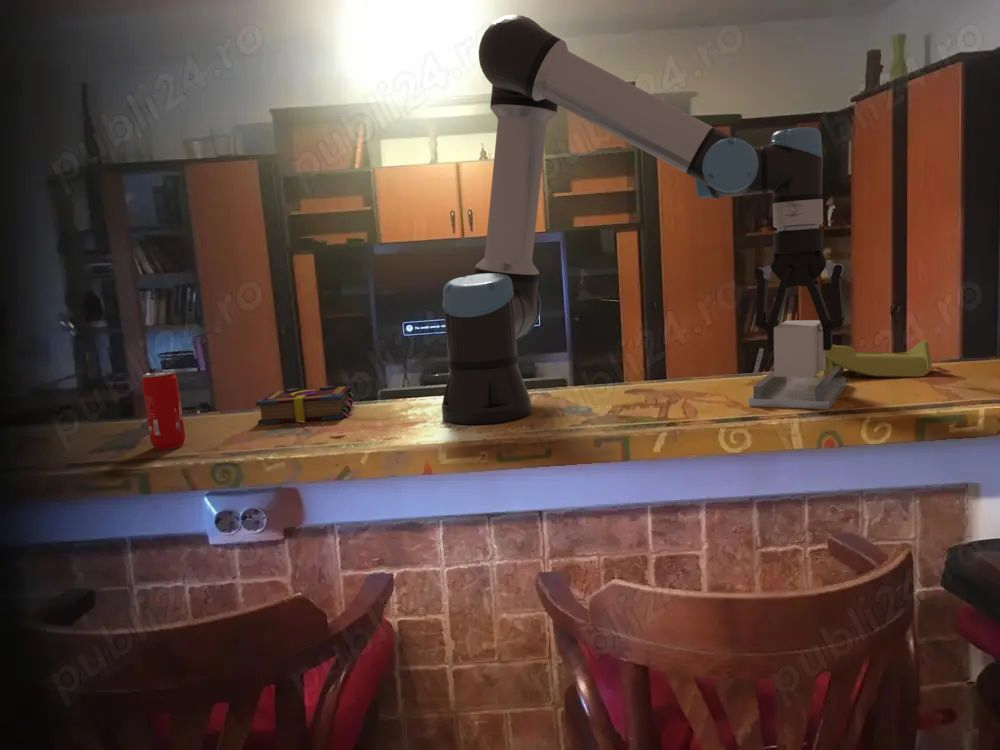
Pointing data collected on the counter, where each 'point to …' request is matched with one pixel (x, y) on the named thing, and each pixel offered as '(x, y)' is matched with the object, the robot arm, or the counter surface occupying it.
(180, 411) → the beverage can
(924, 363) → the plastic component
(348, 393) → the decorative book
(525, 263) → the robot arm
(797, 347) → the block
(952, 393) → the counter surface
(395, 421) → the counter surface
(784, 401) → the grey channel bracket
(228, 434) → the counter surface
